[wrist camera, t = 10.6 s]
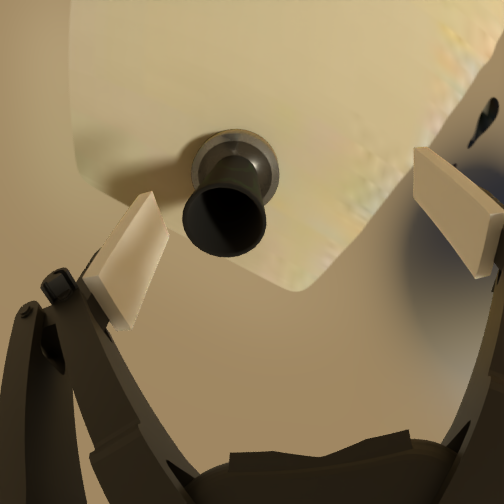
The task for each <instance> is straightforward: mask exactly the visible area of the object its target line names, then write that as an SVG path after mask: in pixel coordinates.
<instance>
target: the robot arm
mask: <svg viewBox="0 0 504 504" xmlns="http://www.w3.org/2000/svg"><path fill="white" fill-rule="evenodd" d="M413 197H414V199H415V200H416V201H417V202H418V204H419V205H420V206H421V207H422V209H423V210H424V211H425V212H426V213H427V215H428V216H429V217H430V218H431V219H432V221H433V222H434V223H435V225H436V226H437V227H438V228H439V230H440V231H441V232H442V234H443V235H444V236H445V237H446V239H447V240H448V241H449V243H450V244H451V245H452V247H453V248H454V249H455V251H456V252H457V254H458V255H459V256H460V258H461V259H462V261H463V262H464V263H465V265H466V266H467V268H468V269H469V271H470V272H471V273H472V275H473V276H474V278H475V279H477V278H481V277H485V276H489V275H490V274H491V270H492V267H493V264H494V263H495V264H496V265H497V267H498V268H499V270H498V273H497V276H496V279H495V282H494V285H493V288H492V292H494V293H493V298H492V303H491V307H490V312H489V316H488V320H487V325H486V328H485V332H484V336H483V340H482V343H481V347H480V350H479V354H478V357H477V360H476V363H475V366H474V369H473V372H472V375H471V378H470V381H469V384H468V387H467V389H466V392H465V395H464V397H463V400H462V402H461V405H460V407H459V410H458V412H457V415H456V417H455V419H454V422H453V424H452V426H451V428H450V429H449V431H448V433H447V434H446V436H445V438H444V439H443V441H442V443H441V444H439V443H436V442H432V441H428V440H420V439H410V434H409V430H404V431H400V432H396V433H392V434H388V435H383V436H379V437H374V438H370V439H365V440H363V441H361V442H359V443H356V444H354V445H352V446H349V447H347V448H344V449H342V450H339V451H337V452H335V453H332V454H329V455H327V456H323V457H311V456H302V455H295V454H288V453H281V452H275V451H268V452H243V453H230V459H229V463H225V464H222V465H219V466H216V467H214V468H212V469H209V470H208V471H205V472H204V473H202V474H199V473H198V472H197V470H196V469H194V467H193V466H192V465H191V464H190V463H189V462H188V461H187V460H186V459H185V457H184V456H183V455H182V453H181V452H180V451H179V449H178V448H177V446H176V445H175V443H174V442H173V440H172V439H171V438H170V436H169V435H168V433H167V432H166V430H165V429H164V427H163V426H162V424H161V423H160V421H159V419H158V418H157V416H156V415H155V413H154V412H153V410H152V408H151V407H150V405H149V404H148V402H147V400H146V399H145V397H144V395H143V394H142V392H141V390H140V388H139V387H138V385H137V383H136V382H135V380H134V378H133V376H132V375H131V373H130V371H129V369H128V367H127V365H126V364H125V362H124V360H123V358H122V356H121V354H120V352H119V351H118V348H117V346H116V345H115V343H114V341H113V339H112V337H111V335H110V333H109V332H108V330H107V329H106V327H107V324H108V322H109V321H110V323H111V324H112V325H113V327H114V328H115V330H116V331H123V330H132V329H133V326H134V323H135V321H136V318H137V315H138V312H139V310H140V307H141V305H142V302H143V300H144V297H145V294H146V292H147V289H148V287H149V284H150V282H151V279H152V277H153V274H154V272H155V270H156V267H157V265H158V262H159V260H160V258H161V255H162V253H163V251H164V248H165V246H166V244H167V241H168V239H169V237H170V236H169V233H168V231H167V228H166V225H165V223H164V220H163V218H162V215H161V213H160V210H159V207H158V205H157V202H156V200H155V197H154V194H153V191H150V192H146V193H142V194H139V195H138V197H137V198H136V199H135V201H134V202H133V203H132V205H131V206H130V207H129V209H128V210H127V211H126V213H125V214H124V216H123V217H122V219H121V220H120V221H119V223H118V224H117V226H116V227H115V229H114V230H113V231H112V233H111V234H110V236H109V237H108V239H107V240H106V242H105V243H104V244H103V246H102V247H101V248H100V249H99V250H98V251H97V252H96V253H95V254H94V255H93V257H92V258H91V260H90V263H88V265H87V266H86V269H84V271H83V272H82V274H81V275H80V277H79V279H78V280H77V282H75V280H74V279H73V277H72V276H71V274H70V272H69V270H68V269H67V268H60V269H57V270H55V271H53V272H52V273H51V274H49V275H48V276H47V277H46V278H45V279H44V280H43V282H42V284H41V290H42V291H43V293H44V294H45V295H46V297H47V298H48V300H49V301H50V303H51V304H52V305H51V306H49V307H46V308H44V309H42V308H41V306H40V305H39V304H38V302H37V301H31V302H28V303H27V304H25V305H23V307H21V308H20V310H19V311H18V313H17V314H16V317H15V320H14V324H13V329H12V333H11V337H10V342H9V346H8V351H7V356H6V361H5V367H4V373H3V379H2V386H1V394H0V504H87V500H86V496H85V490H84V485H83V480H82V474H81V468H80V461H79V455H78V447H77V439H76V430H75V419H74V406H73V390H74V394H75V397H76V399H77V403H78V405H79V408H80V411H81V414H82V417H83V419H84V422H85V425H86V427H87V430H88V432H89V435H90V437H91V439H92V442H93V444H94V448H95V451H93V452H91V453H90V456H89V459H90V462H91V465H92V467H93V470H94V472H95V474H96V476H97V479H98V481H99V483H100V485H101V487H102V489H103V491H104V494H105V496H106V498H107V499H108V501H109V503H110V504H504V205H503V204H502V203H500V201H499V200H498V199H497V198H494V196H493V195H492V194H491V193H490V192H488V191H487V190H485V189H483V188H481V187H479V186H477V185H475V184H474V183H473V182H472V181H471V180H469V179H468V178H467V177H466V176H465V175H463V174H462V173H461V172H460V171H458V170H457V169H456V168H455V167H453V166H452V165H451V164H449V163H448V162H447V161H445V160H444V159H443V158H441V157H440V156H439V155H437V154H436V153H435V152H433V151H432V150H431V149H429V148H428V147H417V148H414V184H413Z"/></svg>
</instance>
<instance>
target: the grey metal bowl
mask: <svg viewBox="0 0 504 504" xmlns="http://www.w3.org/2000/svg"><path fill="white" fill-rule="evenodd" d="M231 155H238V156H242V157H244V158H246V159H248V160H249V161H250V162H251V163H252V164H253V165H254V167H255V169H256V171H257V175H258V180H259V185H260V190H261V195H262V200H263V204H264V205H266V204H267V203H268V202H269V201H270V199H271V198H272V197H273V195H274V194H275V192H276V189H277V187H278V183H279V167H278V161H277V157H276V154H275V152H274V150H273V149H272V147H271V146H270V145H269V143H268V142H267V141H266V140H264V139H263V138H262V137H260V136H259V135H257V134H255V133H253V132H250V131H247V130H242V129H230V130H225V131H222V132H219V133H217V134H215V135H213V136H212V137H210V138H209V139H208V140H207V141H206V142H205V143H204V144H203V145H202V147H201V148H200V150H199V151H198V153H197V154H196V156H195V158H194V161H193V164H192V170H191V177H192V183H193V186H194V189H195V190H196V189H197V188H198V186H199V185H200V184H201V182H202V181H203V180H204V179H205V177H206V176H207V175H208V174H209V172H210V171H211V170H212V169H213V167H214V166H215V165H216V164H217V163H218V161H220V160H221V159H222V158H224V157H227V156H231Z"/></svg>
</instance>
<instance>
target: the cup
mask: <svg viewBox="0 0 504 504" xmlns="http://www.w3.org/2000/svg"><path fill="white" fill-rule="evenodd" d="M182 222H183V227H184V230H185V232H186V234H187V236H188V238H189V239H190V240H191V242H192V243H193V244H194V245H195V246H196V247H198V248H199V249H200V250H202V251H204V252H206V253H208V254H210V255H214V256H218V257H235V256H240V255H242V254H245V253H247V252H249V251H250V250H252V249H253V248H255V247H256V245H257V244H258V243H259V242H260V241H261V239H262V237H263V235H264V233H265V229H266V214H265V209H264V204H263V200H262V195H261V190H260V185H259V180H258V175H257V171H256V169H255V167H254V165H253V164H252V163H251V162H250V161H249V160H248V159H246V158H244V157H242V156H238V155H231V156H227V157H224V158H222V159H221V160H220V161H218V163H217V164H216V165H215V166H214V167H213V169H212V170H211V171H210V172H209V174H208V175H207V176H206V177H205V179H204V180H203V181H202V182H201V184H200V185H199V186H198V188H197V189H196V190H195V191H194V193H193V194H192V195H191V197H190V198H189V199H188V201H187V202H186V204H185V207H184V210H183V217H182Z"/></svg>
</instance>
